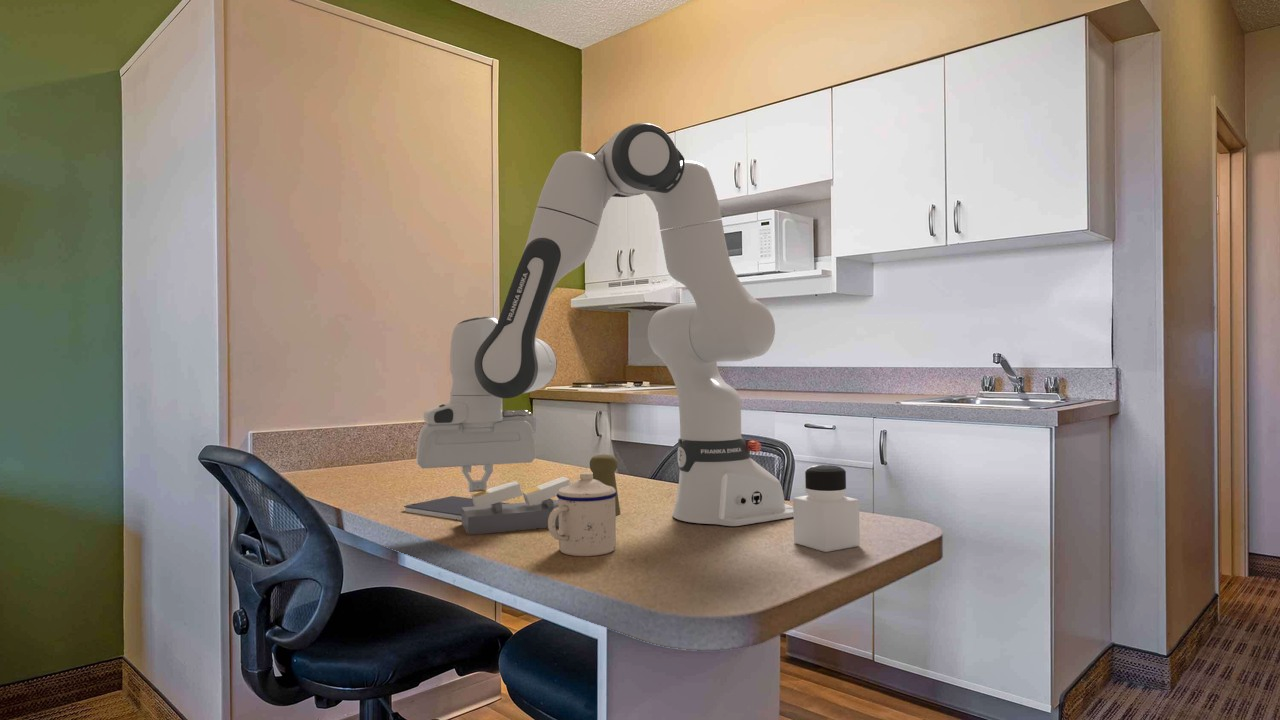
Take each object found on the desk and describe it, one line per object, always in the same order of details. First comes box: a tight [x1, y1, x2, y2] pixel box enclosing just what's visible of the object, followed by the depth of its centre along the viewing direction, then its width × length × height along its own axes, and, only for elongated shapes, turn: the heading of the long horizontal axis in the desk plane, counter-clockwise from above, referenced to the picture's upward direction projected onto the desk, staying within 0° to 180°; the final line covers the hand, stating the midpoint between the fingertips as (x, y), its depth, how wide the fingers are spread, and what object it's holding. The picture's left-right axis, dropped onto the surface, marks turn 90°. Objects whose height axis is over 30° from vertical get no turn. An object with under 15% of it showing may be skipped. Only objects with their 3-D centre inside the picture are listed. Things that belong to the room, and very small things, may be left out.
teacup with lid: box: [547, 472, 617, 557], centre depth 117 cm, size 12×9×12 cm
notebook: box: [403, 495, 511, 521], centre depth 150 cm, size 13×2×21 cm
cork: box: [589, 453, 621, 516], centre depth 145 cm, size 6×6×11 cm
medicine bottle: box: [792, 464, 861, 553], centre depth 118 cm, size 7×7×12 cm
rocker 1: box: [470, 480, 523, 509], centre depth 135 cm, size 8×4×2 cm, turn 110°
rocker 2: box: [521, 476, 572, 506], centre depth 138 cm, size 8×4×2 cm, turn 110°
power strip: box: [461, 498, 559, 536], centre depth 138 cm, size 26×9×4 cm, turn 110°
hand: (477, 491), depth 134 cm, fingers closed
